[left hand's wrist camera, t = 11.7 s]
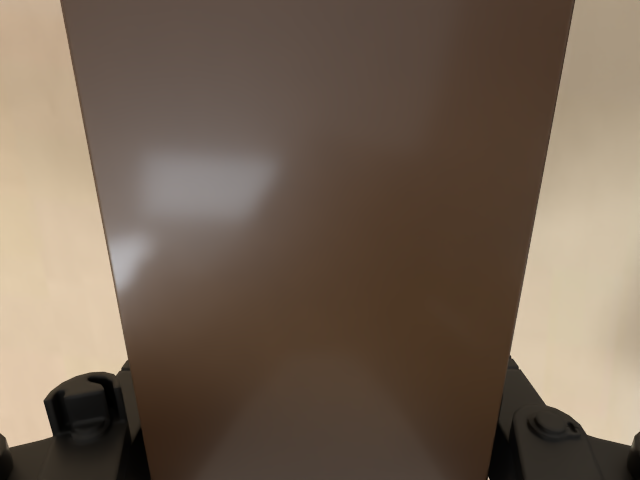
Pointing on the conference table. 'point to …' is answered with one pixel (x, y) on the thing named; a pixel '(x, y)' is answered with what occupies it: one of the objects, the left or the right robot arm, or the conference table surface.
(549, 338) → the conference table surface
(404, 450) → the post
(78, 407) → the left robot arm
